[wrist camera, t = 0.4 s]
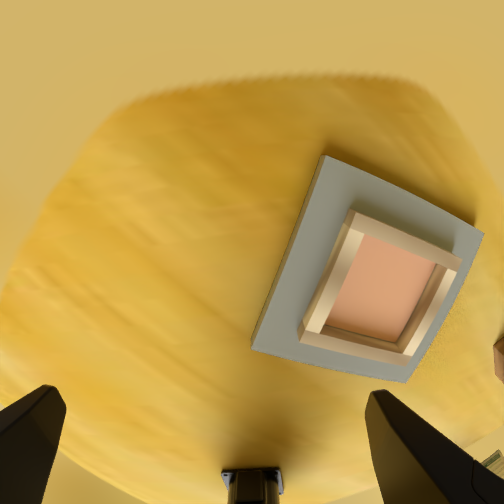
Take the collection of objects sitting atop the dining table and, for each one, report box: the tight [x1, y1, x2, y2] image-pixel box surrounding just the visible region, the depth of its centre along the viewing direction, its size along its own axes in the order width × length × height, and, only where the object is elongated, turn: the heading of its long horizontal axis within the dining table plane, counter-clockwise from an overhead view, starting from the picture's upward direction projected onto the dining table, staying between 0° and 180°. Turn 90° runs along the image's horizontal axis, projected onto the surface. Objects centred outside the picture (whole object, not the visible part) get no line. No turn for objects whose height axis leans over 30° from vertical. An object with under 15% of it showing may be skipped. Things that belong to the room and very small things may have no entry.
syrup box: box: [481, 450, 504, 479], centre depth 25 cm, size 6×6×14 cm
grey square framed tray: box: [251, 155, 484, 383], centre depth 20 cm, size 14×14×3 cm
